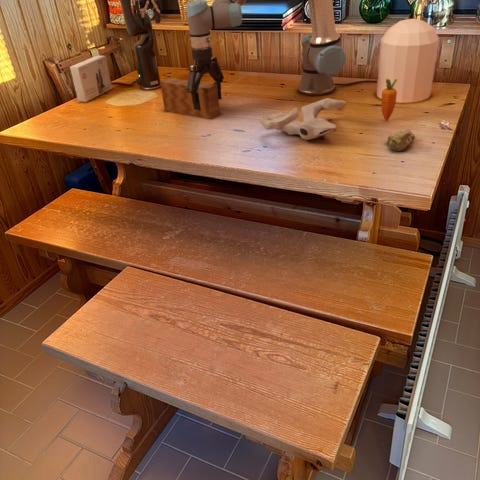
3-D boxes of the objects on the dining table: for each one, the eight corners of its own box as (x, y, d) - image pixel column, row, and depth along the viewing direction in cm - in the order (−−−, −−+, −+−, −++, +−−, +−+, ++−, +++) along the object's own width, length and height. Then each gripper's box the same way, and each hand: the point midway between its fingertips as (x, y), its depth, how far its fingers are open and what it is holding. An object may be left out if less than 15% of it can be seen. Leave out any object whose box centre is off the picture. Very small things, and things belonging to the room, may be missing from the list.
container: (400, 106, 176) (410, 27, 160) (365, 93, 192) (370, 19, 176) (442, 95, 182) (455, 17, 167) (404, 83, 199) (413, 11, 183)
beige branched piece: (257, 147, 155) (255, 112, 149) (269, 121, 176) (267, 89, 170) (343, 147, 149) (345, 111, 143) (345, 120, 170) (346, 87, 164)
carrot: (394, 118, 167) (398, 76, 158) (393, 123, 163) (397, 80, 154) (379, 117, 168) (383, 75, 160) (378, 122, 165) (382, 80, 156)
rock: (408, 140, 153) (379, 139, 152) (414, 122, 149) (384, 120, 148) (421, 154, 144) (391, 153, 143) (428, 135, 140) (396, 133, 139)
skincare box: (87, 102, 214) (77, 67, 204) (78, 102, 215) (68, 66, 206) (113, 88, 229) (105, 54, 220) (104, 88, 231) (96, 54, 222)
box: (164, 110, 196) (159, 81, 189) (174, 106, 200) (169, 77, 193) (211, 118, 183) (207, 88, 176) (220, 114, 186) (217, 83, 180)
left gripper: (149, -22, 189) (156, 21, 198) (123, -17, 180) (132, 28, 189) (162, -22, 185) (169, 22, 194) (136, -17, 176) (145, 29, 185)
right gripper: (187, 56, 161) (195, 115, 174) (229, 40, 177) (234, 95, 189) (171, 54, 165) (180, 112, 177) (214, 39, 181) (219, 93, 193)
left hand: (150, 25), depth 192 cm, fingers open, 8 cm apart
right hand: (208, 104), depth 183 cm, fingers open, 13 cm apart
